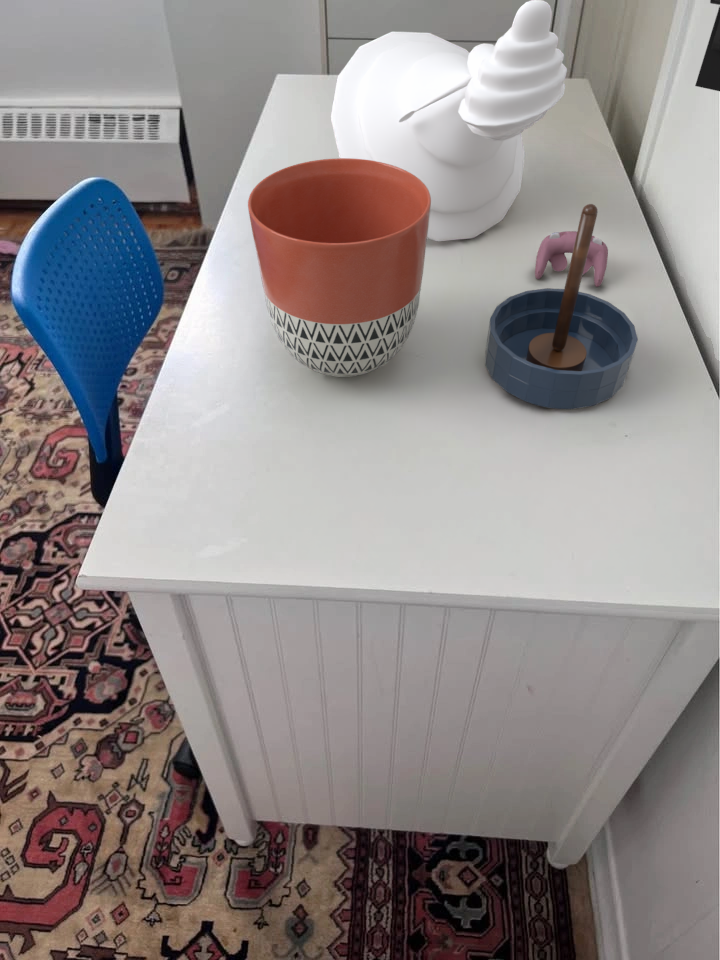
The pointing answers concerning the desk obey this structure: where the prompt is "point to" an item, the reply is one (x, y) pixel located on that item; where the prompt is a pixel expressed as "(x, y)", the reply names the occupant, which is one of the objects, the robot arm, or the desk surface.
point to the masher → (567, 308)
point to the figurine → (452, 114)
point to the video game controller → (564, 243)
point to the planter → (341, 259)
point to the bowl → (591, 324)
